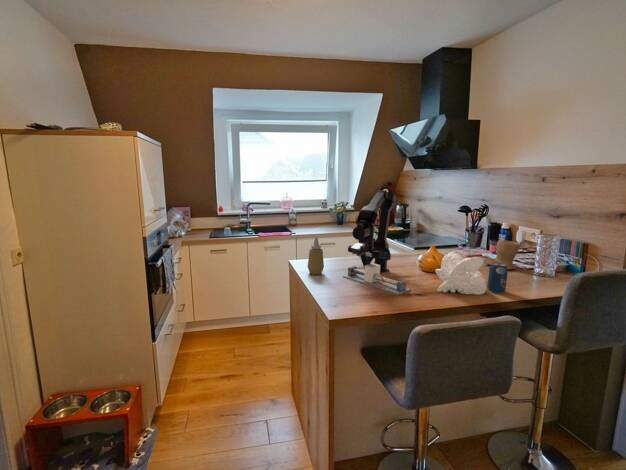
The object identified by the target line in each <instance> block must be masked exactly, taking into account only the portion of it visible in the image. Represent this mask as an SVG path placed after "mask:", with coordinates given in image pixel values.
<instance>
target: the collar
mask: <svg viewBox="0 0 626 470" xmlns="http://www.w3.org/2000/svg"><path fill="white" fill-rule="evenodd" d="M364 271H365V272H364V281H367V282H370V283H372V282H375V281H379V280H376V279H373V275H374V274H375V275H378V276H381V275H380V274H381V272H380V265H378V264H374V262H373V263H370V264H369V265H365V270H364Z"/></svg>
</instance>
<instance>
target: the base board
mask: <svg viewBox="0 0 626 470" xmlns="http://www.w3.org/2000/svg"><path fill="white" fill-rule="evenodd" d="M342 277H343V278H345V279H348V280H351V281H353V282H357V283H359V284H363V285H367V286H368V287H369V286H370V287H372V288H375V289H379V290H382V291H384V292H387V293H391V294H394V295H396V296H399V295H402V294H404V293H408V292H410V291H411V288H408V287H406V290H404V291H401V292H398V291H397V286H396V285H392V284H389V283H385V282H382V281H375V282H372V283H370V282H367V281H364V276H363V275H360V274H357V275H353V276H348V274H346V275H342Z"/></svg>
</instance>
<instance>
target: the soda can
mask: <svg viewBox="0 0 626 470" xmlns="http://www.w3.org/2000/svg"><path fill="white" fill-rule="evenodd" d="M508 271H509V269H508V268H507V265H506V264H504V263H498V262H493V263H492V264H491V265H489V271H488V277H487V278H488V279H487V285H486V288H487V289H488V291H489V292H490V291H491V293H493V292H494V293H493V294H503V293H504V292H506V289H507V282H508V281H507V280H508Z"/></svg>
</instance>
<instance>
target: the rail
mask: <svg viewBox="0 0 626 470" xmlns="http://www.w3.org/2000/svg"><path fill="white" fill-rule="evenodd" d="M364 272H365V270H361V269H358V266H356V265H353V266H349V267H347V275H348V276H353V275H357V274H360V275H363V276H364ZM373 279H376V280H379V281H382V282H385V283H389V284H392V285H396V286H397V291H398V292H401V291H404V290H406V288H407V280H405V279H402V280H399V281H398V280H394V279H391V278H388V277H385V276H381V275H380V276H378V275H375V274H374V275H373Z"/></svg>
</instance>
